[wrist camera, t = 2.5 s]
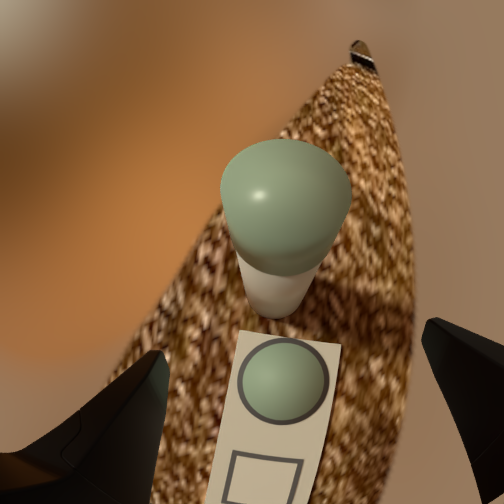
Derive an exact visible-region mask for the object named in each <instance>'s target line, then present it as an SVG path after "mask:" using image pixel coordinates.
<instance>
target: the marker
mask: <svg viewBox="0 0 504 504" xmlns="http://www.w3.org/2000/svg"><path fill="white" fill-rule="evenodd" d="M220 188H221V189H220V190H221V191H220V192H221V198H222V203H223V207H224V211H225V215H226V220H227V224H228V228H229V232H230V236H231V240H232V243H233V246H234V248H235V250H236V252H237V257H238V261H239V266H240V270H241V275H242V279H243V283H244V288H245V292H246V296H247V300H248V303H249V305H250V306H251V308H252V309H253V310H254V311H255V312H256V313H257V314H259V315H261V316H263V317H265V318H269V319H280V318H284V317H287V316H289V315H291V314H292V313H293V312H294V311H295V310H296V309H297V308H298V307H299V305H300V303H301V302H302V300H303V298H304V296H305V294H306V292H307V290H308V288H309V286H310V284H311V282H312V280H313V278H314V276H315V274H316V272H317V270H318V268H319V266H320V264H321V262H322V260H323V259H324V258H325V257H326V256H327V254H328V252H329V251H330V249H331V247H332V245H333V243H334V241H335V238H336V236H337V234H338V232H339V230H340V228H341V226H342V224H343V222H344V220H345V217H346V215H347V213H348V211H349V208H350V205H351V199H352V191H351V185H350V182H349V179H348V176H347V174H346V172H345V171H344V169H343V168H342V166H341V165H340V164H339V163H338V162H337V160H335V159H334V158H333V157H332V156H331V155H330V154H328V153H327V152H325V151H324V150H322V149H320V148H318V147H316V146H314V145H312V144H309V143H306V142H302V141H298V140H291V139H274V140H267V141H263V142H260V143H256V144H254V145H251V146H249V147H247V148H246V149H244V150H242V151H241V152H240V153H238V154H237V155H236V156H235V157H234V158H233V159H232V160H231V161H230V163H229V164H228V165H227V167H226V169H225V170H224V173H223V176H222V179H221V185H220Z"/></svg>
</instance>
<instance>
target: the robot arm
mask: <svg viewBox="0 0 504 504" xmlns="http://www.w3.org/2000/svg"><path fill="white" fill-rule="evenodd" d="M421 342H422V345H423V348H424V350H425V353H426V355H427V358H428V360H429V363H430V366H431V369H432V371H433V374H434V376H435V378H436V381H437V383H438V385H439V387H440V389H441V391H442V394H443V396H444V398H445V400H446V402H447V405H448V407H449V409H450V411H451V414H452V416H453V419H454V421H455V423H456V426H457V428H458V431H459V433H460V436H461V438H462V441H463V444H464V447H465V449H466V452H467V455H468V458H469V461H470V463H471V467H472V470H473V473H474V476H475V480H476V483H477V487H478V490H479V494H480V498H481V501H482V504H488V503H490V502H491V501H493V500H494V499H496V498H497V497H499V496H500V495H502V494H503V493H504V346H503V345H501V344H499V343H496V342H494V341H492V340H489V339H487V338H485V337H483V336H480V335H478V334H475V333H473V332H471V331H469V330H466V329H464V328H462V327H459V326H457V325H455V324H452V323H450V322H448V321H445V320H443V319H441V318H438V317H435V318H431V319H428V320H427V322H426V324H425V328H424V331H423V334H422V339H421ZM169 377H170V371H169V367H168V364H167V361H166V359H165V356H164V353H163V352H162V351H161V350H150V351H148V352H147V353H146V354H145V355H144V356H142V357H141V358H140V359H139V360H138V361H136V362H135V363H134V364H133V365H132V366H130V367H129V368H128V369H127V370H126V371H125V372H123V373H122V374H121V375H120V376H119V377H117V378H116V379H115V380H114V381H113V382H111V383H110V384H109V385H108V386H107V387H105V388H104V389H103V390H102V391H101V392H99V393H98V394H97V395H96V396H95V397H93V398H92V399H91V400H90V401H89V402H87V403H86V404H85V405H84V406H83V407H81V408H80V410H78V411H77V412H75V413H74V414H73V415H72V416H70V417H69V418H68V419H67V420H65V421H64V422H63V423H61V424H60V425H59V426H57V427H56V428H54V429H53V430H51V431H50V432H49V433H47V434H46V435H44V436H43V437H41V438H39V439H38V440H36V441H35V442H33V443H32V444H30V445H28V446H27V447H26V448H24V449H22V450H19V451H17V452H11V453H0V504H149V502H150V495H151V489H152V483H153V478H154V472H155V466H156V461H157V456H158V450H159V445H160V440H161V435H162V430H163V426H164V421H165V415H166V408H167V397H168V386H169Z"/></svg>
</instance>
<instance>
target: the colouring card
mask: <svg viewBox="0 0 504 504" xmlns="http://www.w3.org/2000/svg"><path fill="white" fill-rule="evenodd" d="M340 351H341V344H333V343H324V342H316V341H308V340H300V339H293V338H286V337H280V336H273V335H267V334H261V333H255V332H249V331H244V330H240V331H239V336H238V341H237V346H236V351H235V356H234V361H233V366H232V371H231V376H230V381H229V386H228V391H227V396H226V401H225V406H224V411H223V416H222V421H221V426H220V431H219V435H218V440H217V445H216V450H215V455H214V460H213V465H212V470H211V475H210V479H209V484H208V489H207V494H206V499H205V504H307V502H308V499H309V496H310V493H311V490H312V486H313V483H314V479H315V476H316V472H317V468H318V465H319V461H320V457H321V453H322V449H323V445H324V440H325V436H326V431H327V427H328V422H329V417H330V412H331V407H332V402H333V396H334V390H335V385H336V378H337V372H338V365H339V358H340Z"/></svg>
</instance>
